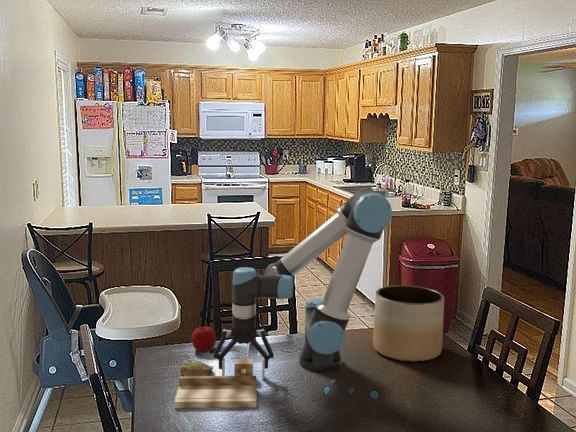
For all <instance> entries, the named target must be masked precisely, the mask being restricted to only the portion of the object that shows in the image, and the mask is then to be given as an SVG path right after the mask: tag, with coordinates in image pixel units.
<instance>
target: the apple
mask: <svg viewBox="0 0 576 432" xmlns="http://www.w3.org/2000/svg"><path fill="white" fill-rule="evenodd" d="M216 342H217V336H216V331H215V330H214V329H213V328H212V327H210V326H203V325H202V324H200V326H199V327H197V328H195V330H194V331H193V332H192V334H191V344H192V346H193V347H194V349H195V350H196V351H198V352H200V353H203V352H209V351H211V350H212V349H213V348H214V347H215V346H216Z"/></svg>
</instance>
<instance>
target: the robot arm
mask: <svg viewBox="0 0 576 432" xmlns="http://www.w3.org/2000/svg"><path fill="white" fill-rule="evenodd" d="M392 209H393V208H392V206H391V204H390V202H389V200H388V199H387V197H385V196H384V195H383V194H381V193H379V192H377V191H376V190H374V189H370V188H369V189H368V188H365V189H361V190H358V191H357V192H355V193H354V194H353V195H352V196H351V197H350V198H348V199H347V200H346V201H345V202H344V203H343V204H342V205H340V206H339V207H338V208H337V210H336V213H335V214H334V215H333V216H331V217H330V218H329V219H327V221H326V222H324V223H323V224H321V225H320V226H319V227H318V228H316V230H314V231H313V232H312V233H310V234H309V235H308V236H307V237H306V238H304V239H303V240H301V241H300V242H299V243H298V244H297V245H296V246H295V247H293V248H291V250H290V251H288V252H287V253H286V254H285V255H283V256H282V257H281V258H280V259H279V260H278V261H276V262H274V263H270V264H269V265H268V266H267V267H266V269H265V270H264V274H257V270H256V269H255V267H254V268H253V267H247V266H245V267H238V268H235V269H234V270H233V272H232V283H231V284H232V285H231V286H232V305H231V306H232V307H231V308H232V317H231V318H232V319H231V321H232V322H231V323H232V326H231V330H229V329H226V328H223V329H222V335H221V338H220V339H219V342H218V344H217V345H216V348H215V350H214V352H213V356H212V358H213V359H216V360H218V369H219V370H221V376H226V371H225V370H226V367H225V366H226V358H225V357H226V356H227V355H228V353H229V352H231V350H232V348H233V347H234V346H235V345H236V344H239V345H240V344H241V345H243V344H246V345H249V344H251V345H252V346H253V347H254V348H255V349H256V350H257V352H258V353H259V354H260V355H261V356H262V358H261V359H262V361H261V365H262V366H261V368H262V370H261V379H262V380H265V379H266V378H265V377H266V376H265V373H266V372H265V371H266V370H267V369H269V360H271V359H274V358H275V355H274V351H273V349H272V346H271V344H270V342H269V340H268V338H267V336H266V332H265V328H261V329H257V328H256V325H257V324H256V322H257V321H256V320H257V319H256V315H257V312H256V308H257V307H256V305H257V301H256V299H271V300H272V299H273V300H274V299H275V300H276V299H277V300H278V299H279V300H287V299H292V298H293V293H294V277H295V276H296V275H297V274H298V273H300V272H301V271H302V270H303V269H305V268H306V267H307V266H308V265H310V264H311V263H312V262H313V261H315V260H316V259H317V258H318V257H320V256H321V255H322V254H324V253H325V251H327V250H328V249H330V248H331V247H332V246H333V245H335V244H336V243H337V242H338V241H340V240H341V239H342V238H343V237H344V236H346V238H345V239H344V243H343V245H342V248H341V250H340V253H339V256H338V258H337V261H336V265H335V267H334V269H333V272H332V274H331V277H330V279H329V283H328V284H327V285H328V286H327V288H326V291H325V293H324V296H323V297H322V298H309V299H307V300H306V302H305V307H304V311H305V313H304V317H305V318H304V321H305V322H304V342H303V344H302V348H301V350H300V352H299V356H298V358H299V359H298V362H299V365H300V366H301V367H302V368H304V369H306V370H310V371H313V372H314V371H315V372H332V371H335V370H338V369H340V368H341V367H342V364H343V356H342V352H341V348H342V347H343V345H344V343H345V339H346V337H345V336H346V335H345V331H346V329H347V325H348V323H349V320H350V314H349V312H348V310H349V308H350V305H351V301H352V300H353V297H354V294H355V291H356V289H357V286H358V283H359V281H360V280H361V276H362V273H363V270H364V268H365V266H366V262H367V261H368V257H369V255H370V252H371V249H372V247H373V245H374V243H376V242H378V241H380V240H381V237H382V235H383V232H384V231H385V229H386V228H387V227H388V226H389V224H390V223H391V220H392V218H393V217H392V216H393V210H392ZM230 335H231V336H232V338H231V340H230V342H229V343H228V344H226V346H225V347H224V349H223V350H222V347H223V345H224V343H225V341H226V339H227V338H228V337H229V336H230ZM257 335H258V336H259V337H260V338H261V340H262V343H263V344H264V347H265V349H266V350H265V349H264V348H263V346H262V345H260V343H259V342H258V341H257V339H256V338H255V337H256V336H257ZM221 350H222V351H221ZM265 369H266V370H265Z"/></svg>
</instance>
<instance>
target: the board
mask: <svg viewBox="0 0 576 432" xmlns="http://www.w3.org/2000/svg"><path fill="white" fill-rule="evenodd" d="M215 408H216V409H219V408H222V409H223V408H225V409H226V408H227V409H228V408H229V409H231V408H237V409H238V408H257V375H253V376H234V375H225V376H222V375H207V376H184V375H181V376H179V377H178V388H177V391H176V396H175V399H174V409H215Z"/></svg>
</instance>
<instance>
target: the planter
mask: <svg viewBox="0 0 576 432" xmlns="http://www.w3.org/2000/svg"><path fill="white" fill-rule="evenodd" d="M374 299H375V300H374V301H375V303H374V319H373V334H372V347H374V349H375V350H376V351H377V352H378V353H379V354H381V355H383V356H384V357H386V358H388V357H389V358H388V359H391V358H392V359H391V360H394V359H396V361H399V360H400V361H399V362H406V361H411V362H410V363H418V362H417V361H423V362H427V361H426V360H428V361H431V360H433V359H436V358H437V357H439V356H440V355H441V353H442V350H443V349H442V348H443V335H444V334H443V333H444V331H443V330H444V313H445V312H444V311H445V296H444V295H443V294H442V293H441V292H439V291H437V290H435V289H431V288H429V287H425V286H424V287H423V286H416V285H409V284H408V285H406V284H401V285H399V284H398V285H397V284H395V285H387V286H382V287H380V288H378V289H377V290H376V291H375V298H374ZM430 359H431V360H430Z"/></svg>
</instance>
